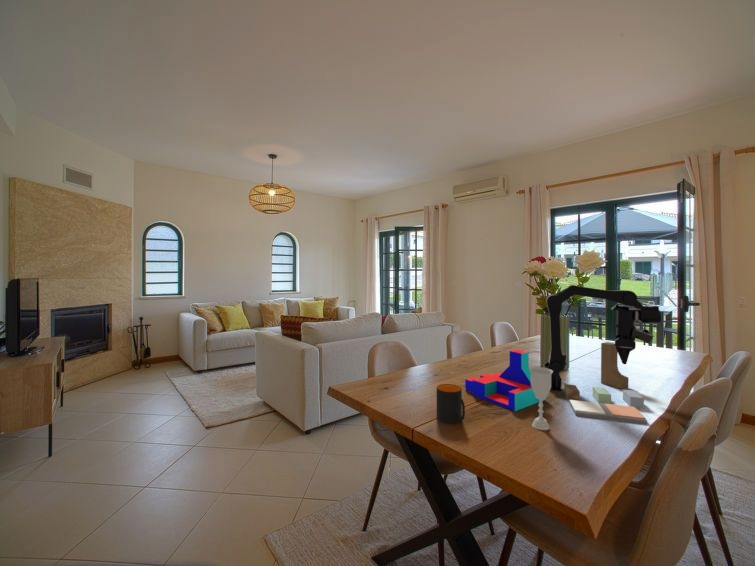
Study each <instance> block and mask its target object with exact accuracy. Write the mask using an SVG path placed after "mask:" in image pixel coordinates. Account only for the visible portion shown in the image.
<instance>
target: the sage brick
mask: <svg viewBox="0 0 755 566" xmlns="http://www.w3.org/2000/svg"><path fill="white" fill-rule="evenodd" d="M591 391H592V398H593V399H594V400H595V402H596V403H603V404H604V403H605V404H612V394H611V393H610V392H609V391H608V390H607V389H606V388H605V387H601V386H600V387H599V386H592V390H591Z"/></svg>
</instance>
